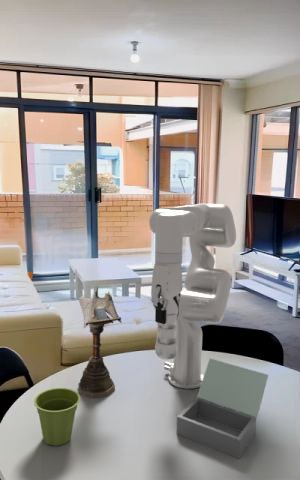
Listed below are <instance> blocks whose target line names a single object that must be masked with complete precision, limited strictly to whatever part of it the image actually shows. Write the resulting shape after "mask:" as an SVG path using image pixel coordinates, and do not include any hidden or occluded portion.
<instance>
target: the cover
mask: <svg viewBox="0 0 300 480" xmlns="http://www.w3.org/2000/svg"><path fill="white" fill-rule="evenodd" d="M203 375H204V378H203V381H202V384H201V386H200V387H199V390H198V394H197V396H196V398H200V399H203V400H206V401H209V402H212V403H215V404H218V405H220V406H223V407H226V408H229V409H232V410H235V411H238V412H241V413H244V414H247V415H250V416H253V417H255V418H256V419H257V418H258V417H259V414H260V413H259V412H260V408H261V405H262V401H263V397H264V393H265V389H266V386H267V382H268V378H269V375H268V374H266V373H264V372H261V371H256V370H252V369H250V368H249V369H248V368H245V367H242V366H238V365H235V364H231V363H228V362H223V361H220V360H217V359H213V358H209V360H208V362H207V365H206V369H205V372H204V374H203Z"/></svg>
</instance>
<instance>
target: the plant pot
mask: <svg viewBox="0 0 300 480" xmlns="http://www.w3.org/2000/svg"><path fill="white" fill-rule="evenodd" d="M80 395H81V394H79V392H78V391H76V390H73V389H71V388H66V387H53V388H50V389H46V390H43V391H41V392H40V393H38V394H37V395H36V396H35V398H34V399H33V405H34V407H35V408H36V409H37V414H38V416H39V422H40V423H39V424H40V428H41V434H42V440H43V442H44V443H45V444H46V445H49V446H51V445H52V446H54V447H55V446H57V447H58V446H62V445H64V444H66V443H68V442H69V441H70V439H71V436H72V432H73V428H74V421H75V417H76V411H77V408H78V405H79V403H80V401H81V396H80Z"/></svg>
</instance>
